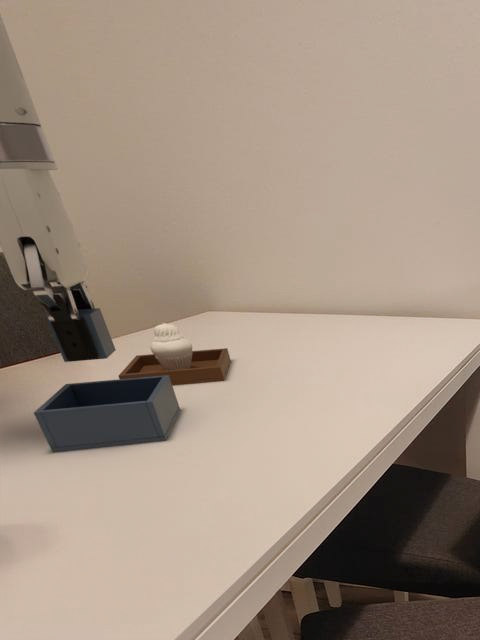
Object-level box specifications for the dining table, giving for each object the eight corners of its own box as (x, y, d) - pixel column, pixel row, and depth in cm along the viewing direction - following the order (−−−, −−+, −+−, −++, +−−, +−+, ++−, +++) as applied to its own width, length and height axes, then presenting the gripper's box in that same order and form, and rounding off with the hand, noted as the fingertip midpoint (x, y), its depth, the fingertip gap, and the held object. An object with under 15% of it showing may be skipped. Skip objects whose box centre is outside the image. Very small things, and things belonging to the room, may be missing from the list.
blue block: (64, 362, 66) (45, 317, 64) (75, 353, 70) (57, 310, 67) (107, 358, 67) (89, 314, 64) (116, 350, 71) (100, 308, 68)
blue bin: (52, 453, 68) (33, 412, 65) (81, 420, 77) (65, 383, 75) (166, 441, 70) (152, 401, 67) (180, 410, 80) (168, 374, 77)
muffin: (182, 364, 98) (167, 317, 94) (207, 368, 96) (193, 320, 91) (150, 373, 94) (133, 324, 89) (176, 377, 91) (159, 327, 87)
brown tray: (123, 390, 88) (118, 375, 87) (140, 368, 99) (136, 355, 98) (224, 381, 91) (220, 366, 90) (230, 361, 102) (227, 348, 100)
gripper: (-3, 156, 63) (75, 342, 74) (-78, 148, 50) (30, 375, 61) (73, 154, 64) (138, 337, 76) (19, 146, 51) (107, 368, 63)
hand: (89, 352), depth 68 cm, fingers closed on blue block, 4 cm apart
